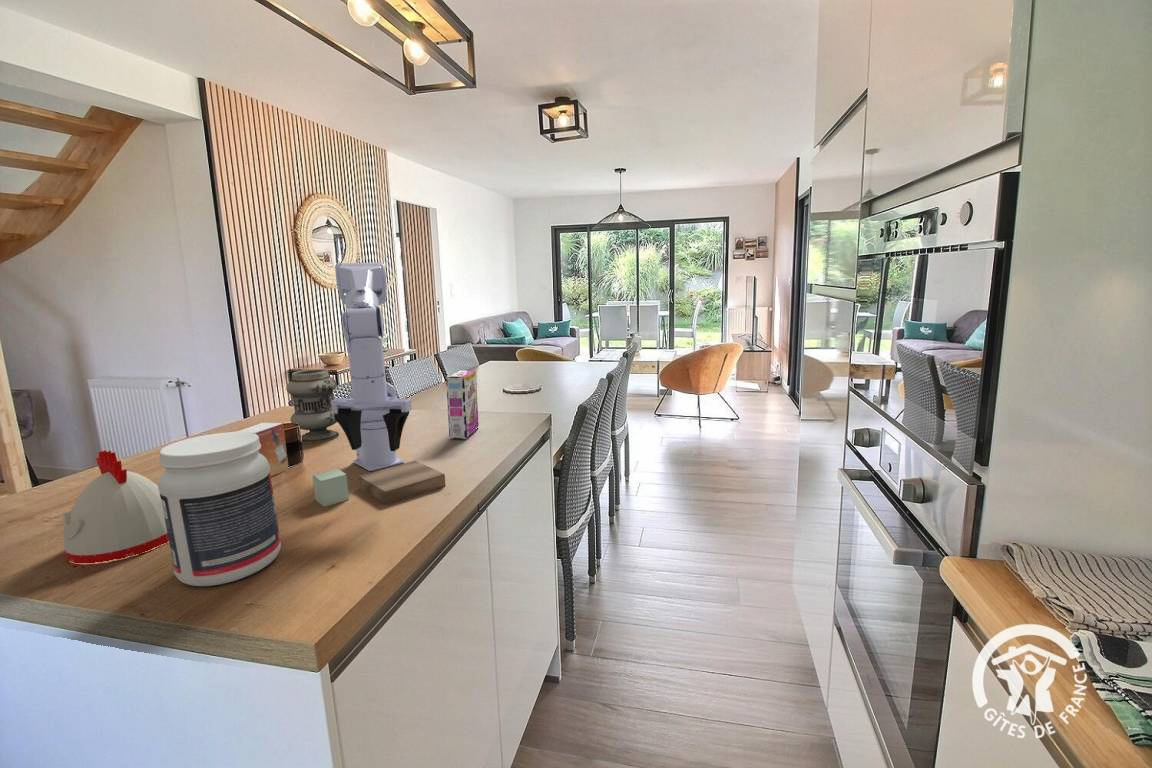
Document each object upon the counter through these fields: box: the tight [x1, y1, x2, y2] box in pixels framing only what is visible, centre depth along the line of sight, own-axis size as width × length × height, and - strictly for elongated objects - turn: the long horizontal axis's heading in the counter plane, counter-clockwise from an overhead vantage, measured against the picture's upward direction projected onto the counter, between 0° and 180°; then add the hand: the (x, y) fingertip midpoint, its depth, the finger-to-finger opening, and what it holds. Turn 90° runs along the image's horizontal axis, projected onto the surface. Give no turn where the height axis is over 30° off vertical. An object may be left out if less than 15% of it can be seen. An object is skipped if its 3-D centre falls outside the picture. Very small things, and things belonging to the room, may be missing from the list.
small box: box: [234, 422, 289, 478], centre depth 111 cm, size 8×6×10 cm
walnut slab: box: [358, 460, 446, 506], centre depth 103 cm, size 12×12×3 cm
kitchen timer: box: [62, 449, 169, 563], centre depth 82 cm, size 14×14×15 cm
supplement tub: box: [157, 431, 282, 587], centre depth 73 cm, size 13×13×18 cm
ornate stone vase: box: [286, 368, 340, 444], centre depth 138 cm, size 12×12×18 cm
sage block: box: [312, 468, 350, 507], centre depth 98 cm, size 4×4×5 cm
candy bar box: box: [445, 369, 479, 440], centre depth 138 cm, size 11×5×16 cm, turn 174°
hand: (375, 448), depth 96 cm, fingers open, 7 cm apart
